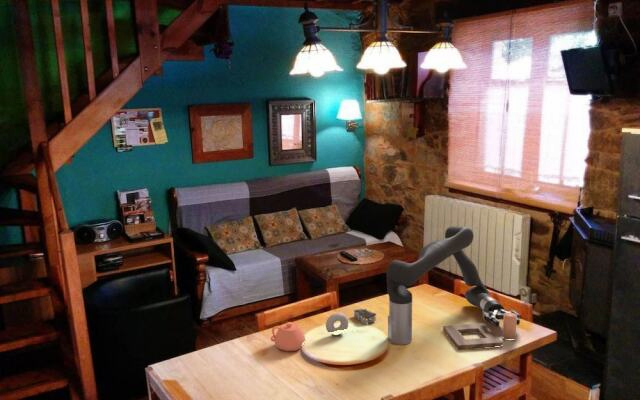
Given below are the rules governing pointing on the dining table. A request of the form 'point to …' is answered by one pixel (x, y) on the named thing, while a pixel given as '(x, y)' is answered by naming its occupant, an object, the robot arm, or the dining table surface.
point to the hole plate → (463, 344)
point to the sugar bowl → (288, 337)
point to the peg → (509, 325)
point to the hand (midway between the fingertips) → (508, 323)
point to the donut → (333, 319)
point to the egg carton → (364, 315)
